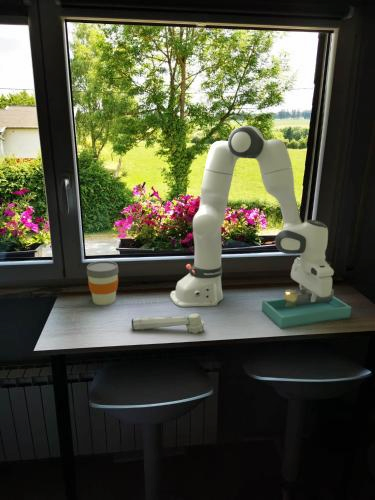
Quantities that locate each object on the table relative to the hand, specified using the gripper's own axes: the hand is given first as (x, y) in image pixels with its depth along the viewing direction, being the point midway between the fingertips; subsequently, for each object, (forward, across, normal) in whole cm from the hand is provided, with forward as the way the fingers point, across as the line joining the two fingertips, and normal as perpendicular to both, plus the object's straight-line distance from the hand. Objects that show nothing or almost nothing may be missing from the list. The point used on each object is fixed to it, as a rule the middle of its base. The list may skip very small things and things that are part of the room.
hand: (307, 298), depth 140 cm
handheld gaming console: (+7, -29, +24) cm, 39 cm away
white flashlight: (+7, -4, -54) cm, 55 cm away
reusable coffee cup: (+7, -34, -73) cm, 81 cm away
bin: (+7, 0, 0) cm, 7 cm away
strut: (+2, 0, +1) cm, 2 cm away
